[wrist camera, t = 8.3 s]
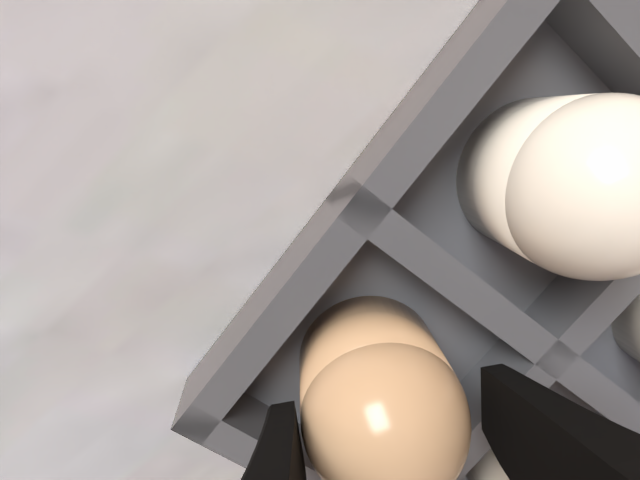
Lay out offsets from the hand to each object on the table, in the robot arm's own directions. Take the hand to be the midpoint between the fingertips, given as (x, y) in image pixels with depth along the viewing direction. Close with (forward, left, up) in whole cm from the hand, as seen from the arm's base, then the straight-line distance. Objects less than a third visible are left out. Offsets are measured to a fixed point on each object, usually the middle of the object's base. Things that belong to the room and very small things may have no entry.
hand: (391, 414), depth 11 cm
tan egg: (0, 0, -3) cm, 3 cm away
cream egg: (0, -8, -3) cm, 8 cm away
